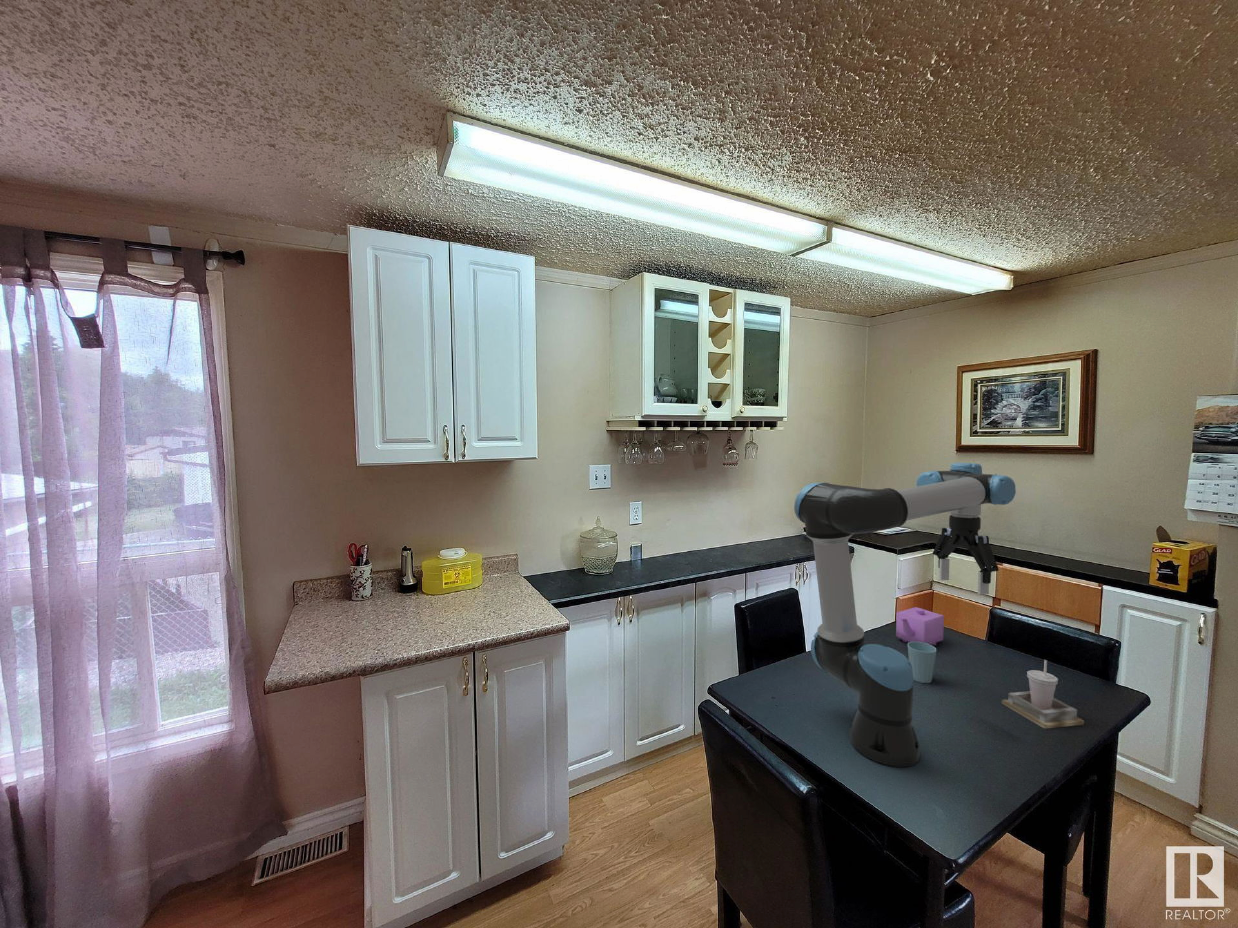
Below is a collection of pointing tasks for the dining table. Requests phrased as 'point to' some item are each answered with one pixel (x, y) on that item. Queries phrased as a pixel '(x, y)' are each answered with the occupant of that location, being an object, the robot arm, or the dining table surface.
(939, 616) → the purple box
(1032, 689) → the smoothie
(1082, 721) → the tray
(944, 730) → the dining table surface
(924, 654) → the cup
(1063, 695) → the dining table surface
